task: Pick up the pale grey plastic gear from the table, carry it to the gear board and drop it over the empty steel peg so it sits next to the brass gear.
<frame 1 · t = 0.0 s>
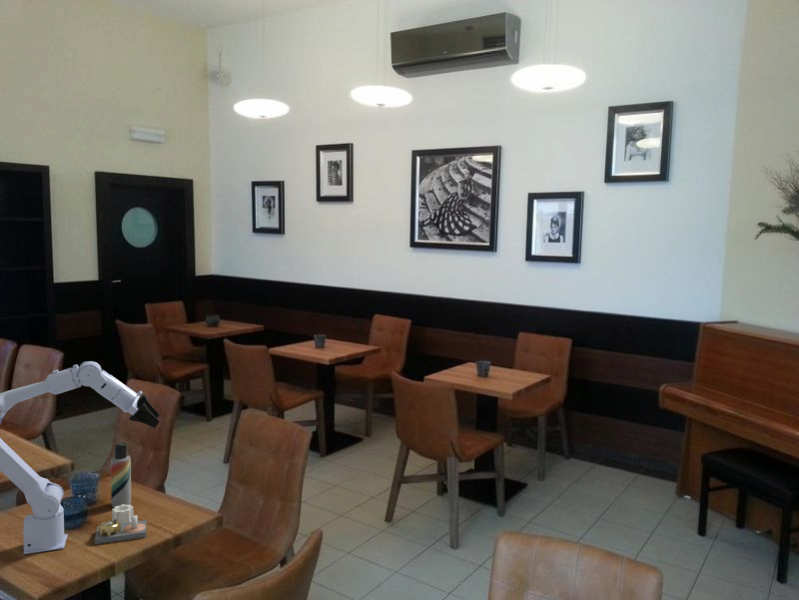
hand: (157, 420, 173), 32 cm above the table, tool tilted 50°, fingers open, 7 cm apart
loose gear: (123, 521, 180), on the table
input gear: (109, 526, 170), point 3 cm above the table, hinge at 0.0°
board: (121, 534, 172), on the table
lotion bottle: (121, 504, 191), on the table
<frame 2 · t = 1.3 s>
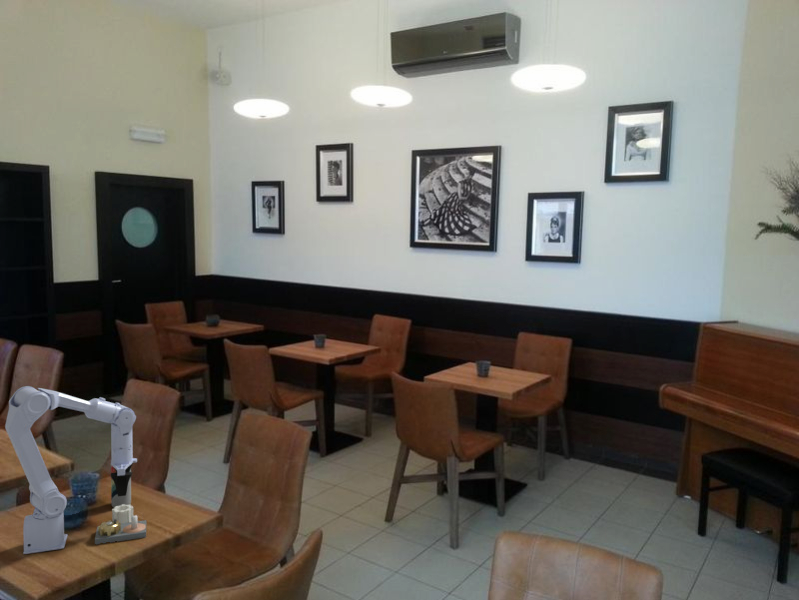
hand: (122, 490, 179), 9 cm above the table, tool pointing down, fingers open, 7 cm apart
nothing on the table moved.
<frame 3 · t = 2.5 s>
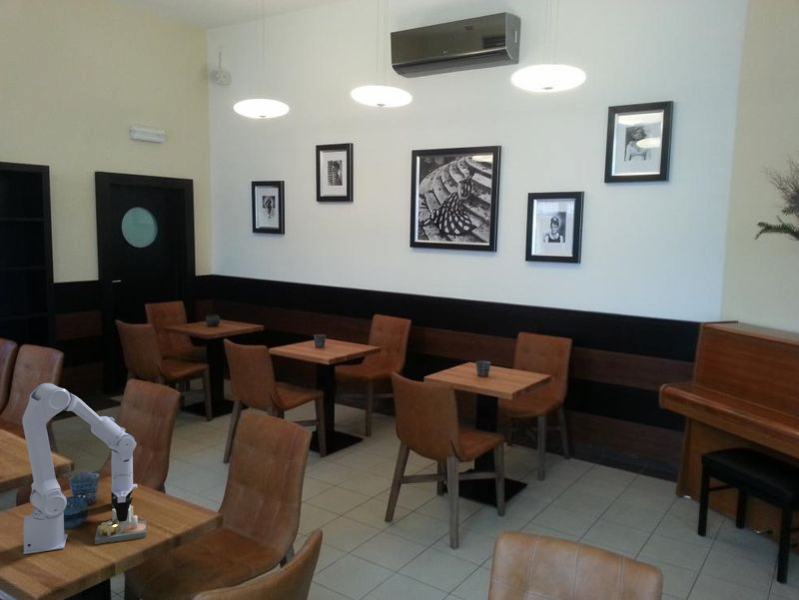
hand: (122, 516, 180), 1 cm above the table, tool pointing down, fingers closed on loose gear, 6 cm apart
loose gear: (123, 521, 180), on the table, touching gripper
everything else where it was.
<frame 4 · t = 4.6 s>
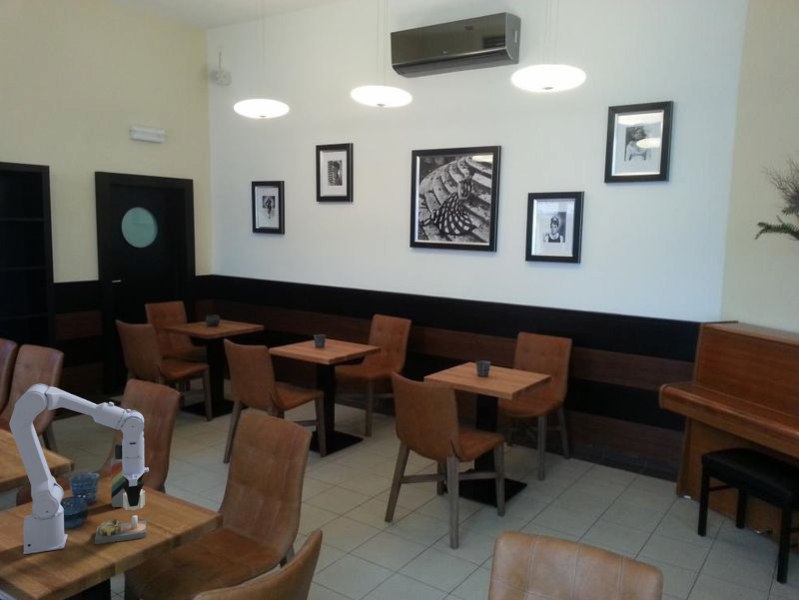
hand: (133, 501, 172), 9 cm above the table, tool pointing down, fingers closed on loose gear, 6 cm apart
loose gear: (134, 506, 172), point 8 cm above the table, touching gripper
everything else where it was.
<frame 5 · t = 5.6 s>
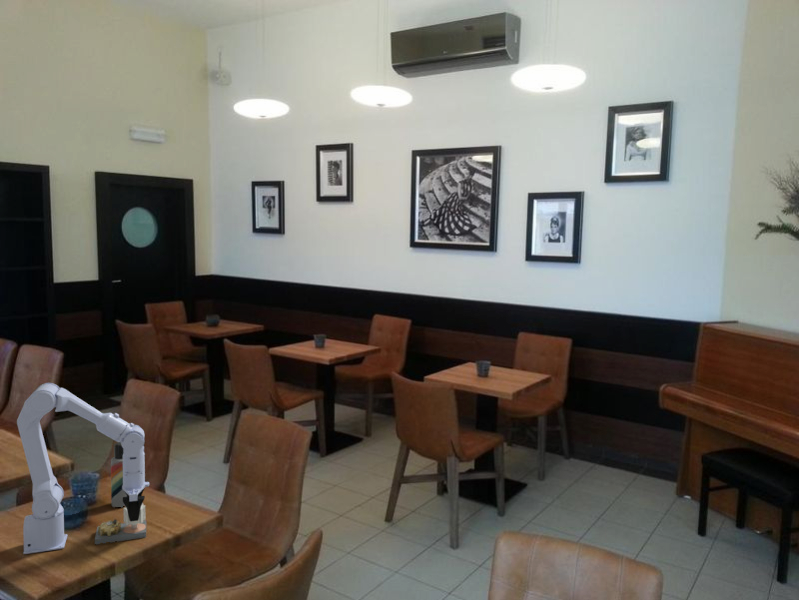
hand: (134, 515, 172), 5 cm above the table, tool pointing down, fingers closed on loose gear, 6 cm apart
loose gear: (134, 520, 172), point 4 cm above the table, touching gripper
everything else where it was.
when the fingers open (4 cm above the table, at t = 6.5 s): loose gear stays where it is, resting on board.
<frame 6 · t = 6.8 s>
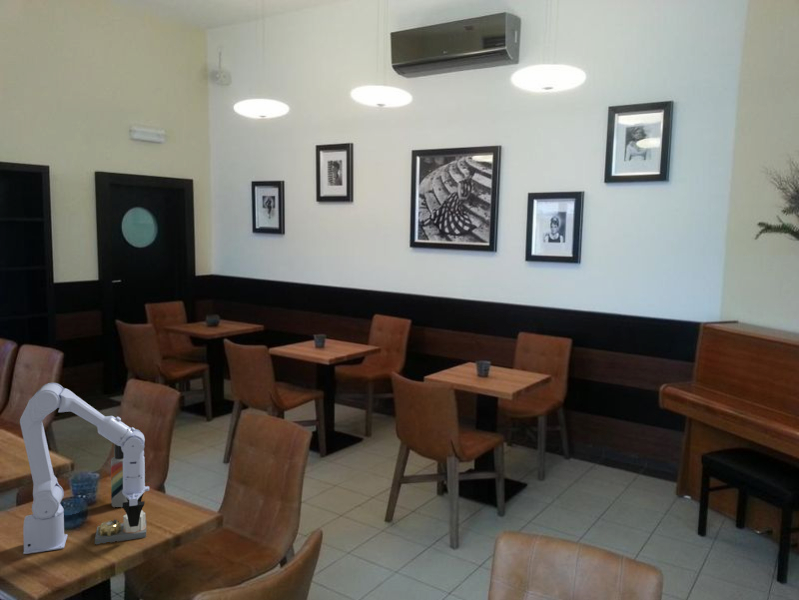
hand: (134, 520, 172), 4 cm above the table, tool pointing down, fingers open, 7 cm apart
loose gear: (134, 528, 172), point 2 cm above the table, touching board
everything else where it was.
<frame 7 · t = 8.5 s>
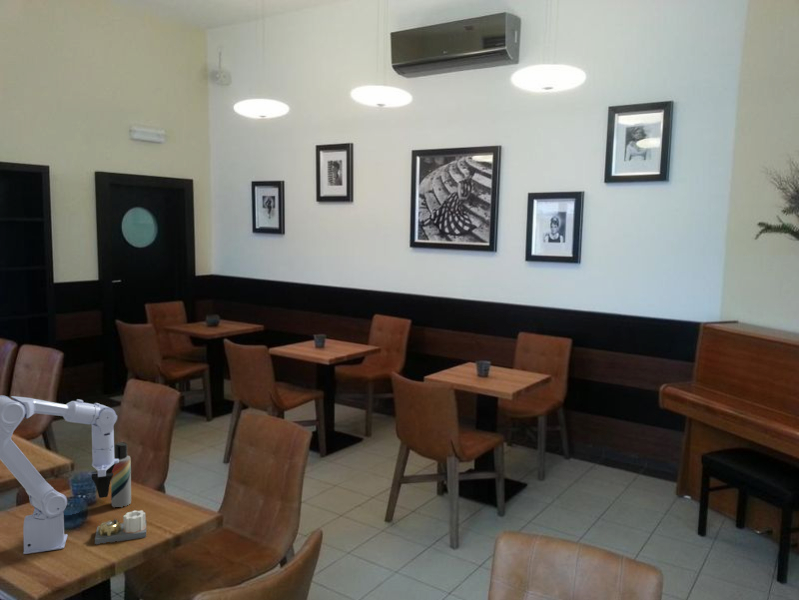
hand: (104, 491, 175), 10 cm above the table, tool pointing down, fingers open, 7 cm apart
nothing on the table moved.
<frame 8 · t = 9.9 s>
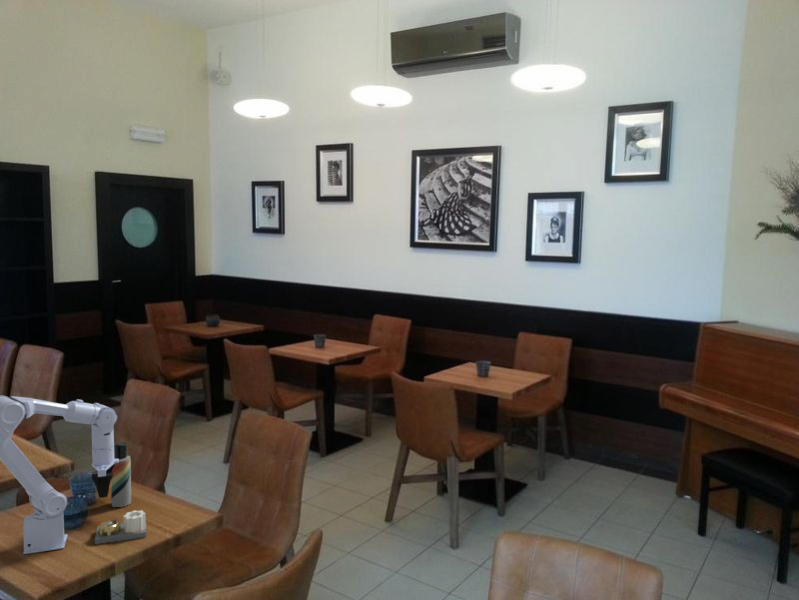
hand: (104, 491, 175), 10 cm above the table, tool pointing down, fingers open, 7 cm apart
nothing on the table moved.
at the end: loose gear 0.0 cm from the target spot, point 1.6 cm above the table; loose gear tilted 0°; the gripper is holding nothing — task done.
